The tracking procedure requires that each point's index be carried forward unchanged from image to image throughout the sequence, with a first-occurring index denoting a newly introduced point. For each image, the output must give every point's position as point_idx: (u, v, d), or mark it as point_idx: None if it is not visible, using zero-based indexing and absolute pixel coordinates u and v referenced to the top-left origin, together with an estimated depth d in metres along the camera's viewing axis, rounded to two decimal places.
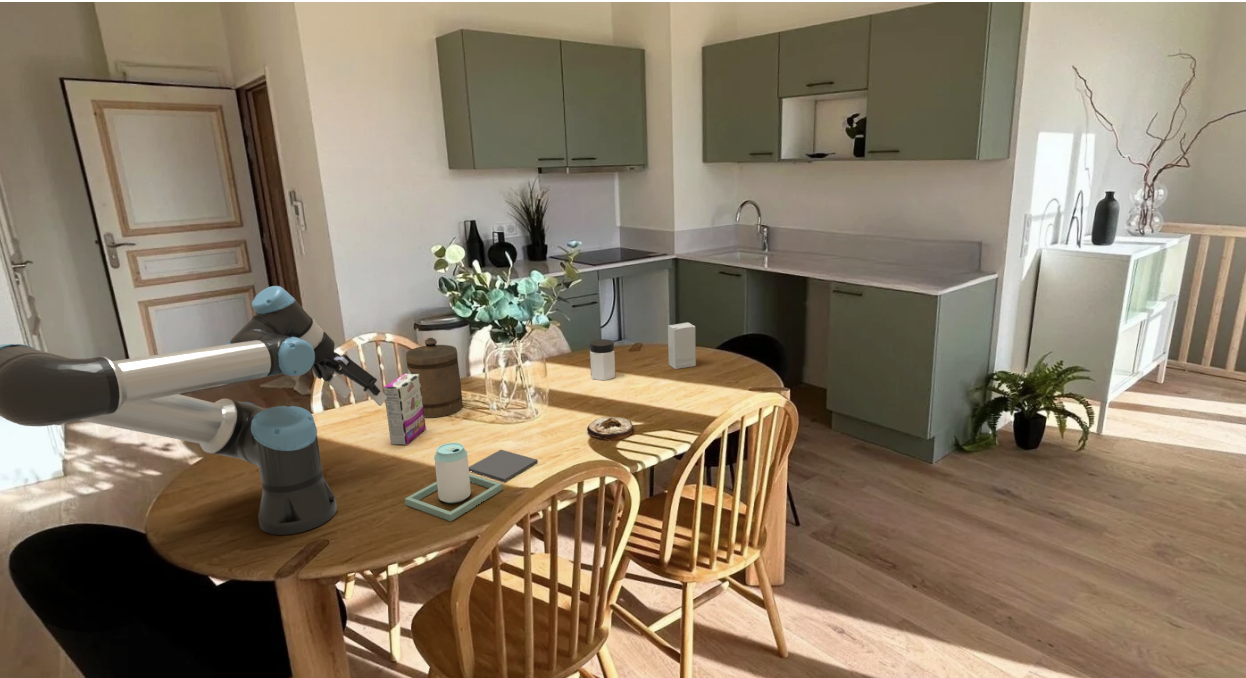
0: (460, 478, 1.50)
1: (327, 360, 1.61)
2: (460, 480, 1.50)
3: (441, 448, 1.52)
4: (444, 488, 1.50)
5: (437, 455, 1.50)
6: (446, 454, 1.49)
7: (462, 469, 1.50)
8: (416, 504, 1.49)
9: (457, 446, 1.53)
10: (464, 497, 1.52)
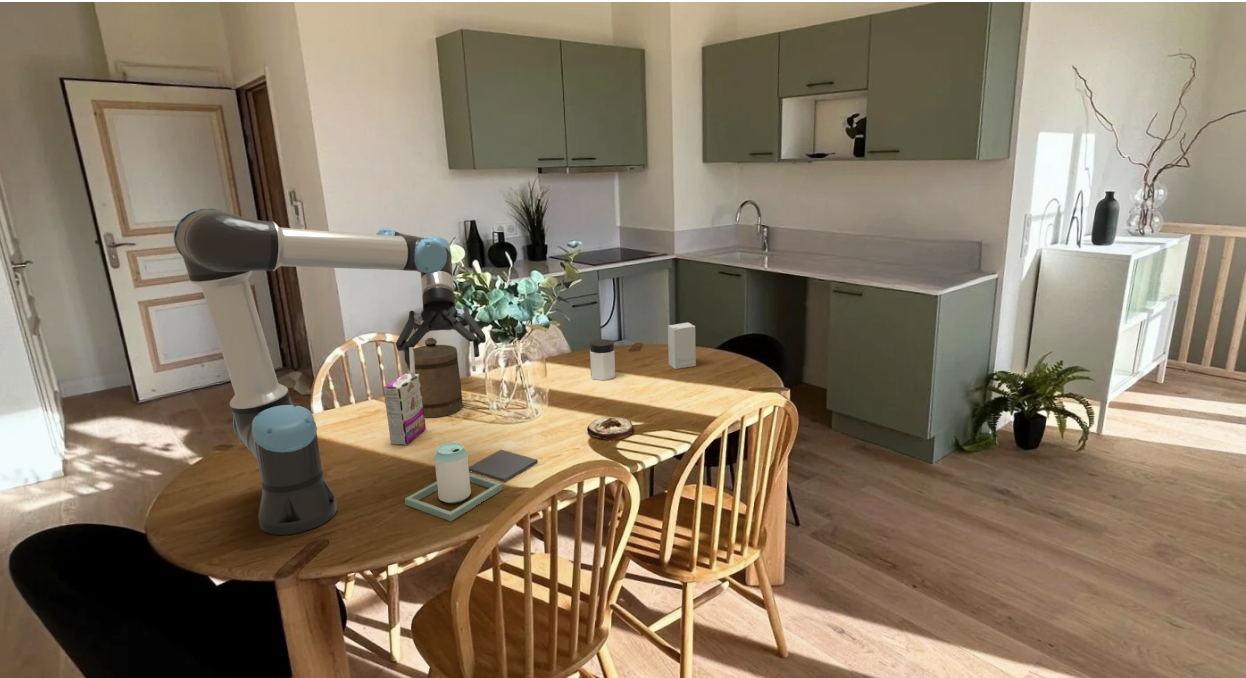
0: (460, 478, 1.50)
1: (448, 308, 1.65)
2: (460, 480, 1.50)
3: (441, 448, 1.52)
4: (444, 488, 1.50)
5: (437, 455, 1.50)
6: (446, 454, 1.49)
7: (462, 469, 1.50)
8: (416, 504, 1.49)
9: (457, 446, 1.53)
10: (464, 497, 1.52)
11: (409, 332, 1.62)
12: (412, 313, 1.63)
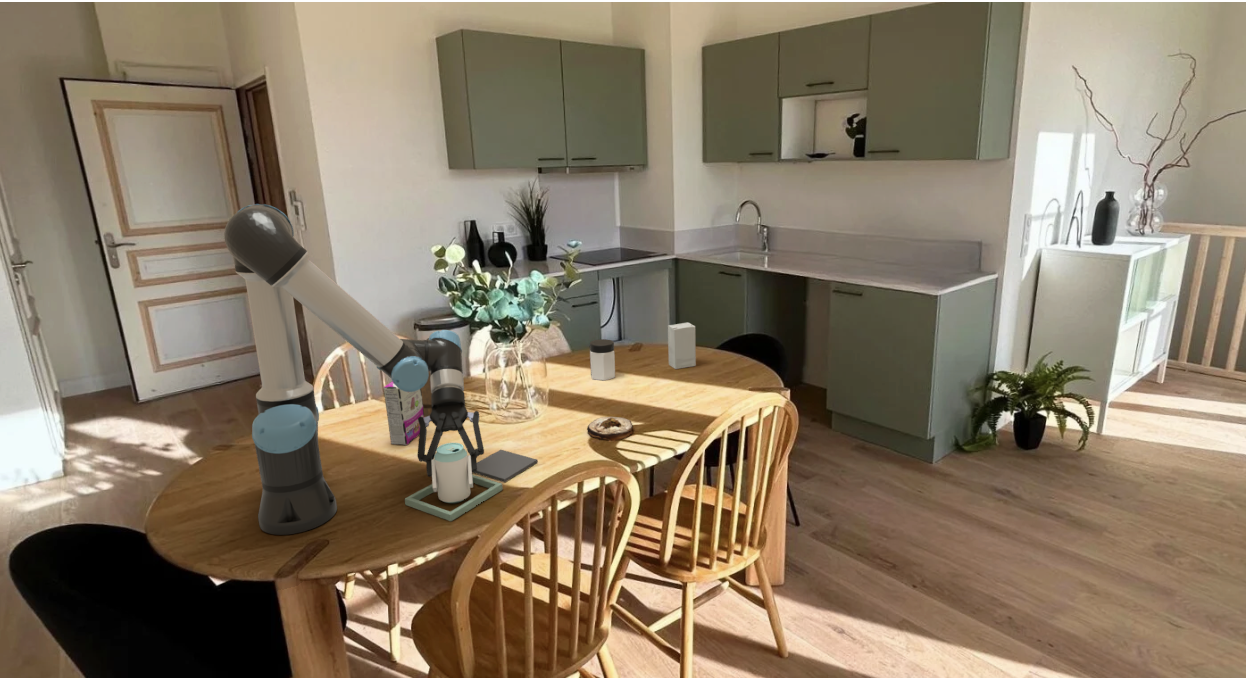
0: (460, 478, 1.50)
1: (459, 408, 1.58)
2: (460, 480, 1.50)
3: (441, 448, 1.52)
4: (444, 488, 1.50)
5: (437, 455, 1.50)
6: (446, 454, 1.49)
7: (462, 469, 1.50)
8: (416, 504, 1.49)
9: (457, 446, 1.53)
10: (464, 497, 1.52)
11: (425, 439, 1.55)
12: (421, 419, 1.56)
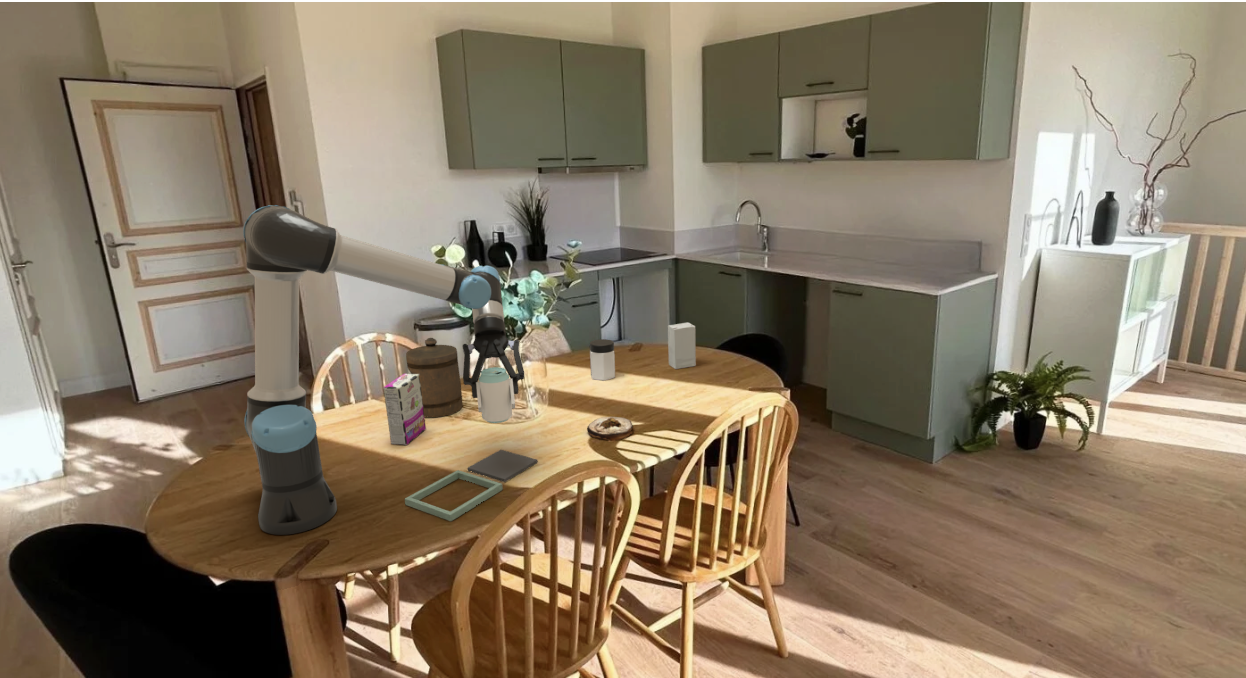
0: (503, 399, 1.60)
1: (500, 336, 1.68)
2: (503, 401, 1.60)
3: (485, 371, 1.62)
4: (488, 408, 1.60)
5: (481, 377, 1.60)
6: (490, 375, 1.58)
7: (505, 391, 1.60)
8: (416, 504, 1.49)
9: (499, 370, 1.62)
10: (507, 417, 1.62)
11: (469, 364, 1.65)
12: (465, 346, 1.65)
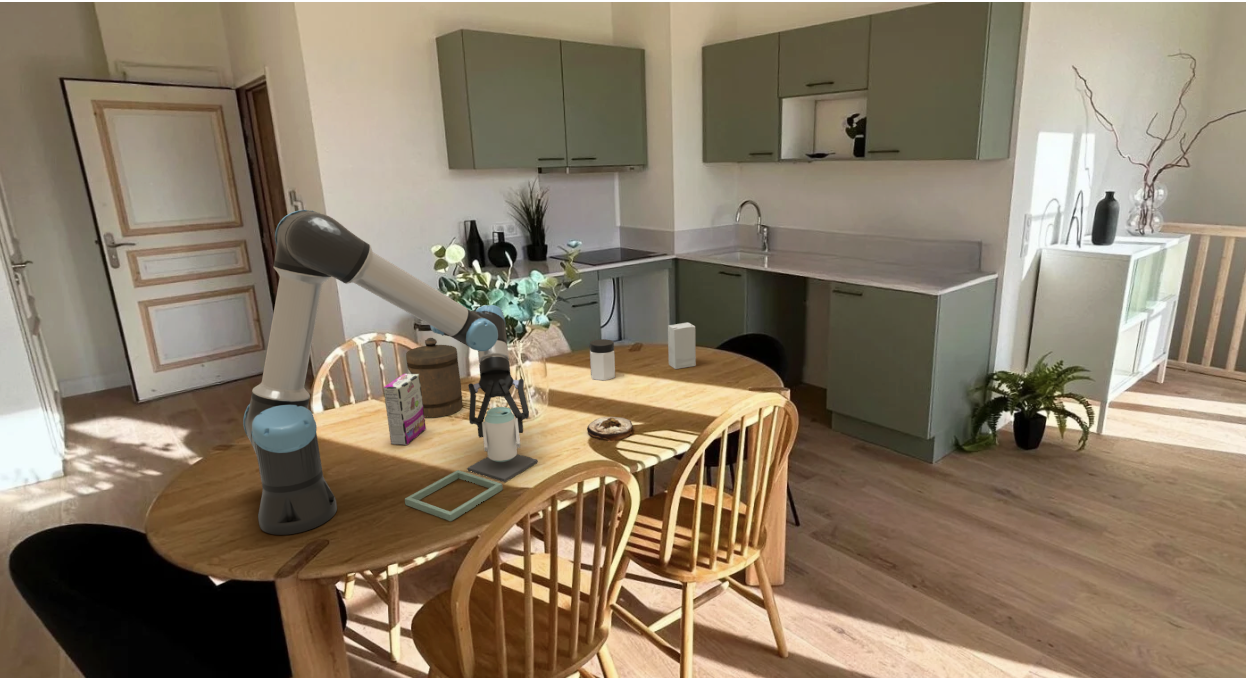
0: (508, 438, 1.64)
1: (505, 376, 1.72)
2: (508, 440, 1.64)
3: (490, 411, 1.66)
4: (494, 448, 1.64)
5: (487, 417, 1.63)
6: (496, 416, 1.62)
7: (510, 431, 1.64)
8: (416, 504, 1.49)
9: (505, 410, 1.66)
10: (512, 456, 1.66)
11: (475, 404, 1.68)
12: (471, 386, 1.69)
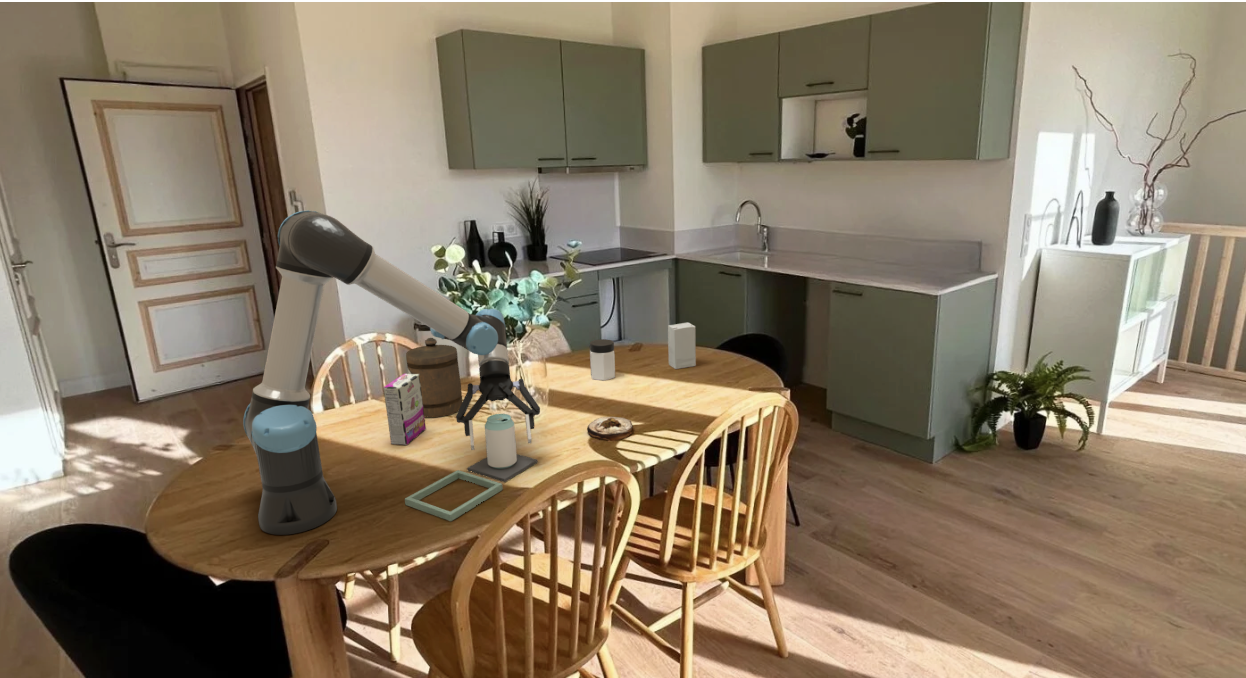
0: (508, 445, 1.64)
1: (504, 380, 1.72)
2: (508, 447, 1.65)
3: (490, 418, 1.66)
4: (493, 455, 1.64)
5: (487, 424, 1.64)
6: (496, 423, 1.63)
7: (510, 437, 1.64)
8: (416, 504, 1.49)
9: (505, 416, 1.67)
10: (511, 463, 1.66)
11: (468, 404, 1.69)
12: (470, 386, 1.70)
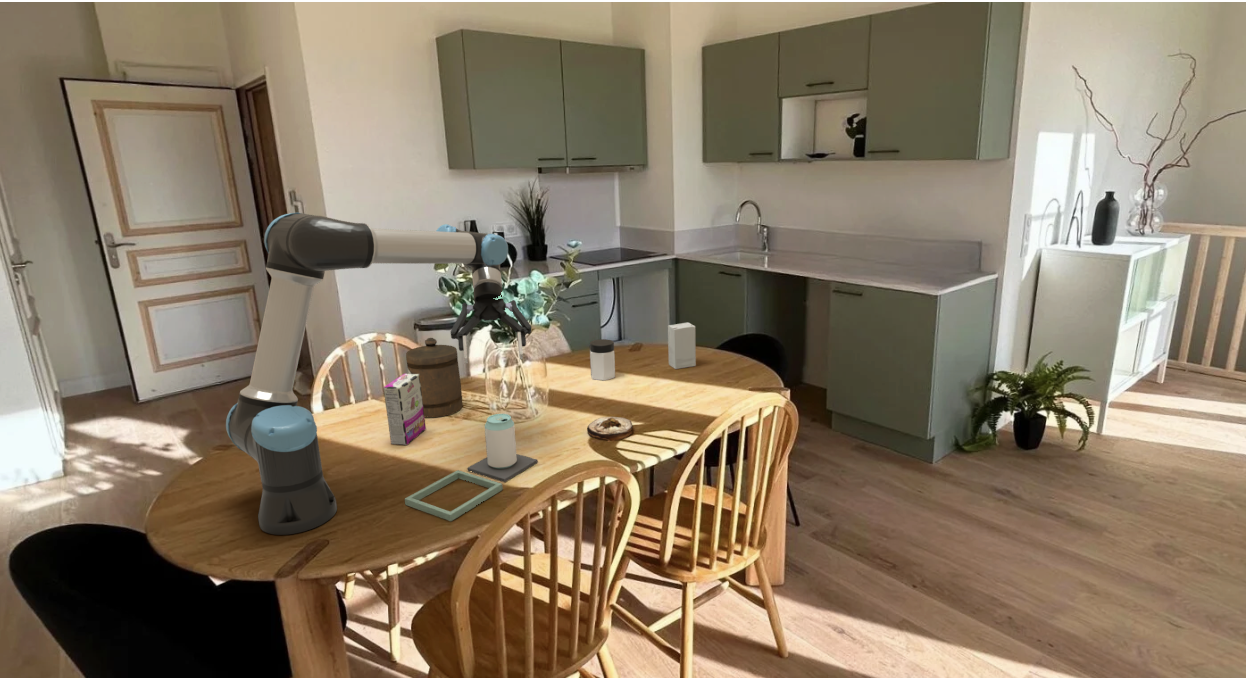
0: (508, 445, 1.64)
1: (497, 301, 1.80)
2: (508, 447, 1.65)
3: (490, 418, 1.66)
4: (493, 455, 1.64)
5: (487, 424, 1.64)
6: (496, 423, 1.63)
7: (510, 437, 1.64)
8: (416, 504, 1.49)
9: (505, 416, 1.67)
10: (511, 463, 1.66)
11: (462, 322, 1.76)
12: (465, 305, 1.78)
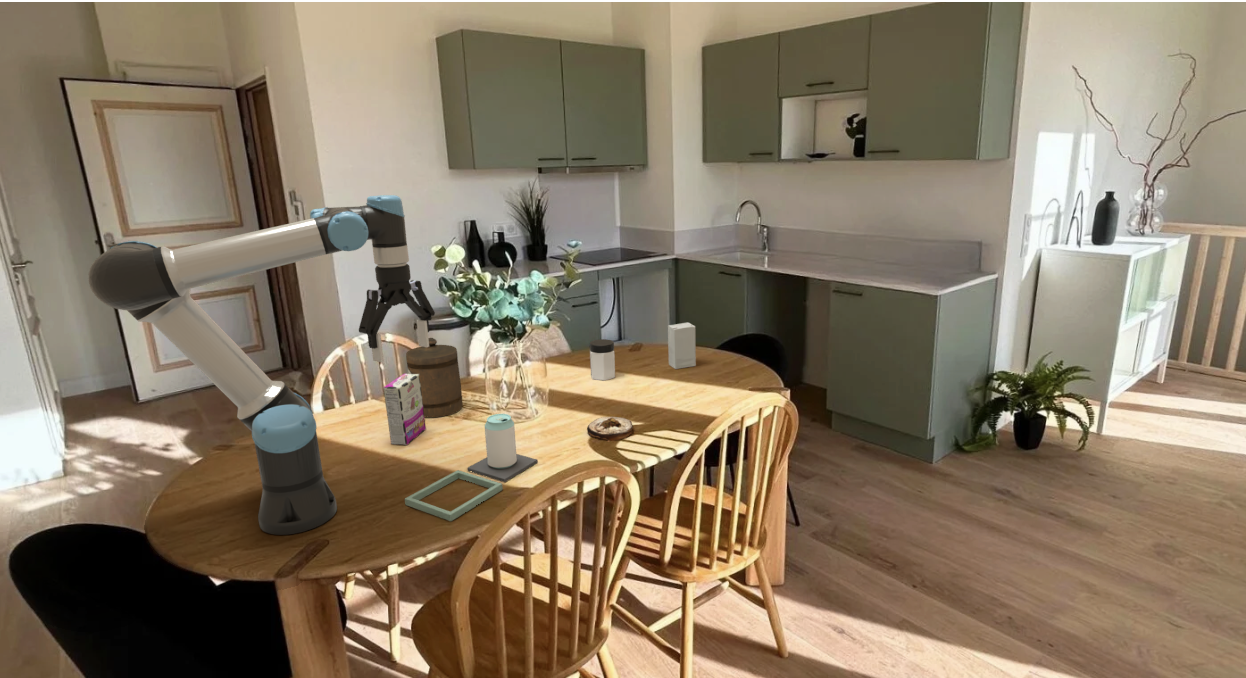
0: (508, 445, 1.64)
1: (405, 284, 1.60)
2: (508, 447, 1.65)
3: (490, 418, 1.66)
4: (493, 455, 1.64)
5: (487, 424, 1.64)
6: (496, 423, 1.63)
7: (510, 437, 1.64)
8: (416, 504, 1.49)
9: (505, 416, 1.67)
10: (511, 463, 1.66)
11: None
12: (376, 294, 1.54)
